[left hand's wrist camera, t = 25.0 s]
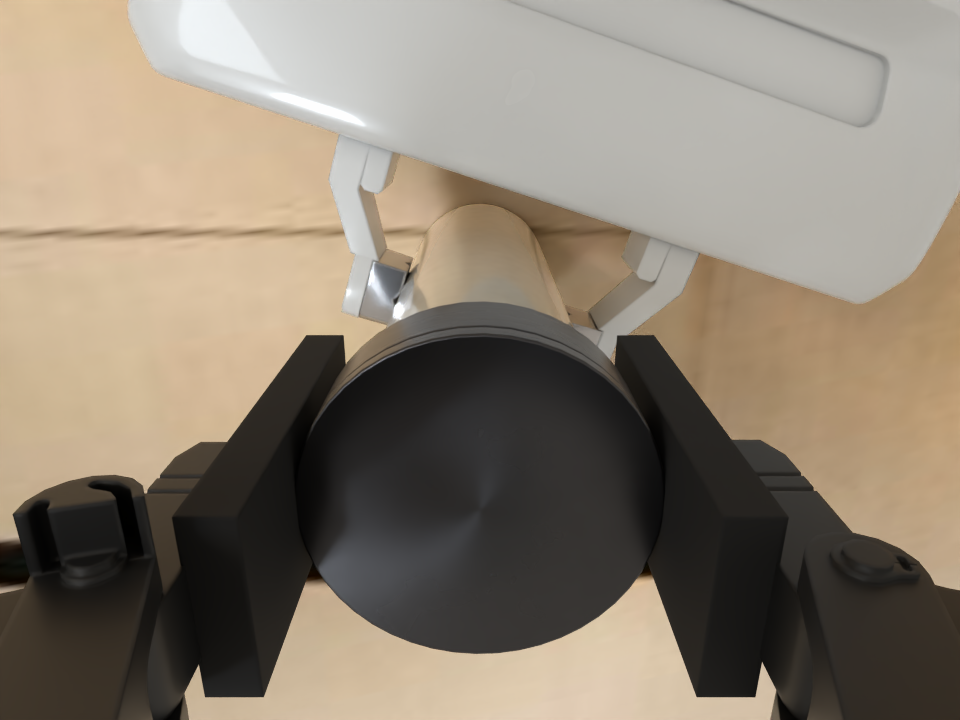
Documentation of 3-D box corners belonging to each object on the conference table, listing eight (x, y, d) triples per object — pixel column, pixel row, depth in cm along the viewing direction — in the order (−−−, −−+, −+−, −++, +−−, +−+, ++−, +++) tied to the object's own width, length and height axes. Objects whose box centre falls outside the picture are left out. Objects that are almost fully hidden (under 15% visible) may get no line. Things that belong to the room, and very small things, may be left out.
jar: (405, 213, 25) (306, 366, 11) (534, 194, 25) (610, 322, 10) (429, 335, 26) (369, 608, 12) (549, 317, 26) (633, 575, 12)
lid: (332, 275, 11) (306, 305, 9) (677, 328, 11) (710, 365, 10) (308, 566, 13) (283, 632, 11) (602, 604, 13) (619, 673, 12)
